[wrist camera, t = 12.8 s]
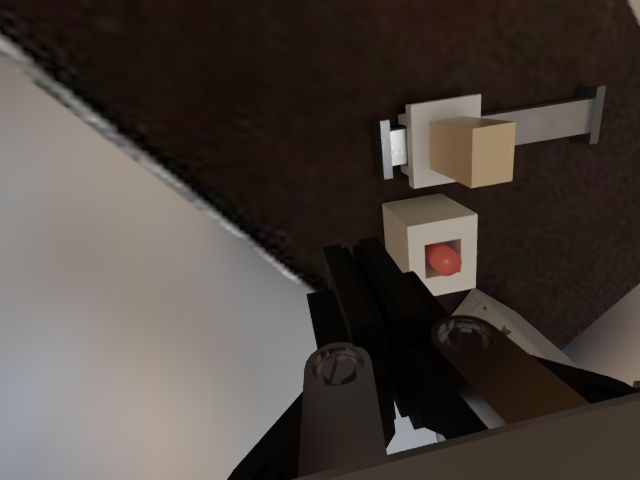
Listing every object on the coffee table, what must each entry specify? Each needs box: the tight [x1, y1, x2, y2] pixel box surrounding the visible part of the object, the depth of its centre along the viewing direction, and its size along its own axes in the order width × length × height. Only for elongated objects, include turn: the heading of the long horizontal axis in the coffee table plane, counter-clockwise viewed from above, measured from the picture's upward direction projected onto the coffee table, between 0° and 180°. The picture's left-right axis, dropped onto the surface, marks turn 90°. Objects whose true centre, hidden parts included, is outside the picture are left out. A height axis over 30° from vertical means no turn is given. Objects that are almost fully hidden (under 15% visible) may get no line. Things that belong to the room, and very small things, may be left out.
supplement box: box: [451, 288, 579, 368], centre depth 38 cm, size 7×7×13 cm
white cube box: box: [382, 193, 478, 296], centre depth 35 cm, size 7×7×7 cm
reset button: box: [425, 242, 462, 276], centre depth 33 cm, size 2×2×5 cm
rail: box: [373, 86, 606, 179], centre depth 34 cm, size 5×21×2 cm, turn 98°
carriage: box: [398, 94, 516, 189], centre depth 30 cm, size 7×6×10 cm
